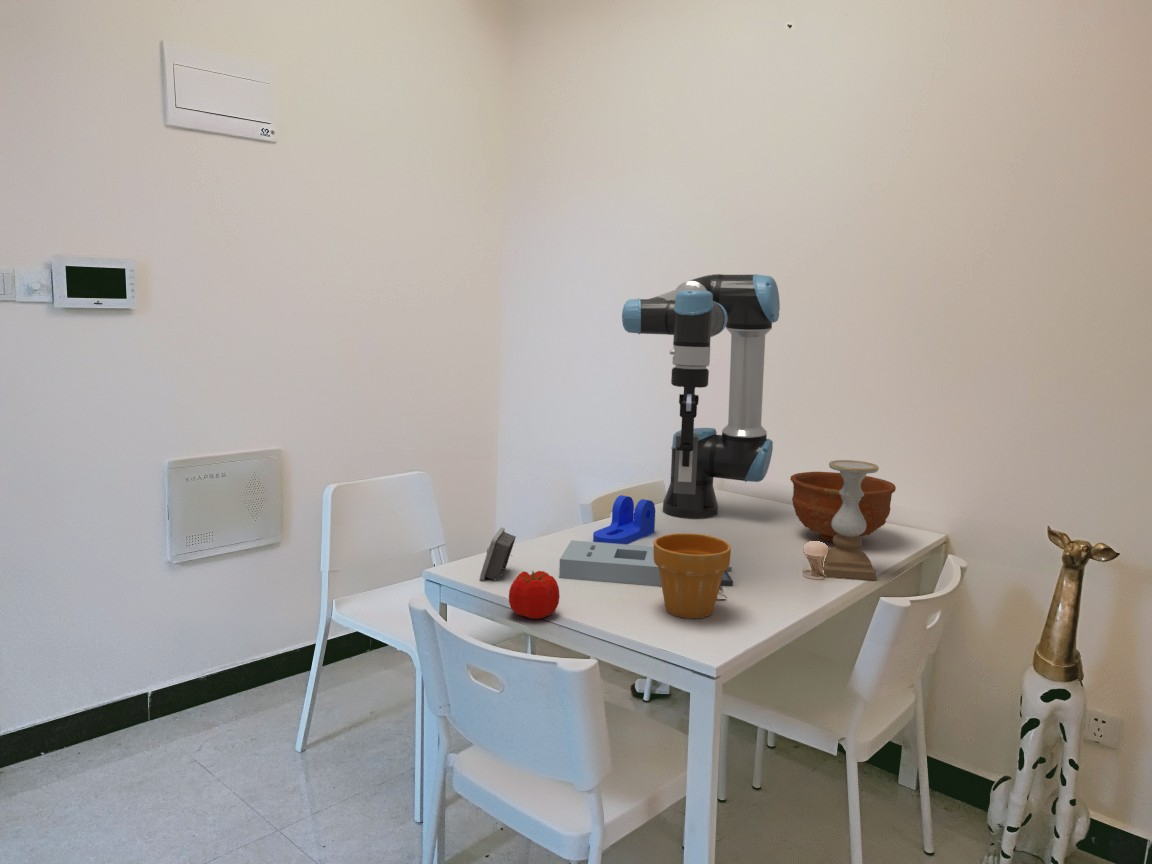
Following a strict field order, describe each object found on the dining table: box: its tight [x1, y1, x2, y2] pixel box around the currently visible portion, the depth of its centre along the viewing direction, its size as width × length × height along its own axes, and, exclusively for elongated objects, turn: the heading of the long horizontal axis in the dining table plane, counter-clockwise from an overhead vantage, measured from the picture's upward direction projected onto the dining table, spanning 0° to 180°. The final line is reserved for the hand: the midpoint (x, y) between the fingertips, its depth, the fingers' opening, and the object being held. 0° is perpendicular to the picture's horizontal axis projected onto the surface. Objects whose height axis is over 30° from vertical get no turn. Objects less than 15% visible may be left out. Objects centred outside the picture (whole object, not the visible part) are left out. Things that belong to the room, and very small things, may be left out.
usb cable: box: [726, 566, 733, 572], centre depth 182 cm, size 15×1×1 cm, turn 71°
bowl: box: [789, 471, 897, 543], centre depth 206 cm, size 25×25×15 cm
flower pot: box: [653, 532, 732, 619], centre depth 155 cm, size 14×14×13 cm
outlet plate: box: [558, 539, 662, 587], centre depth 176 cm, size 14×22×4 cm, turn 81°
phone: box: [720, 570, 734, 587], centre depth 173 cm, size 7×14×1 cm, turn 91°
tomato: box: [508, 570, 561, 620], centre depth 151 cm, size 9×9×8 cm
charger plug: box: [673, 432, 698, 494], centre depth 172 cm, size 4×4×12 cm
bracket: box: [592, 494, 656, 545], centre depth 202 cm, size 18×8×9 cm, turn 145°
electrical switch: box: [479, 527, 517, 581], centre depth 172 cm, size 9×5×9 cm, turn 173°
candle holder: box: [823, 459, 880, 582], centre depth 180 cm, size 11×11×24 cm
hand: (684, 478), depth 173 cm, fingers closed on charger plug, 4 cm apart
